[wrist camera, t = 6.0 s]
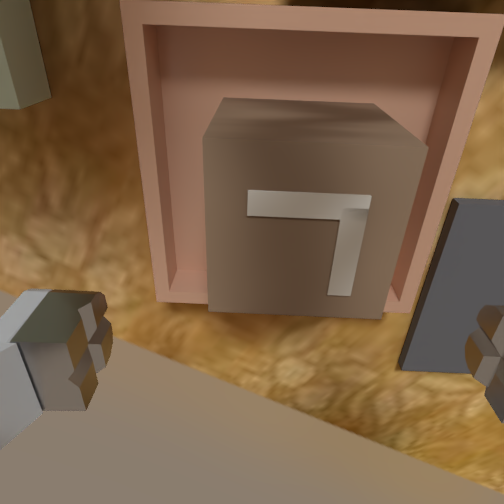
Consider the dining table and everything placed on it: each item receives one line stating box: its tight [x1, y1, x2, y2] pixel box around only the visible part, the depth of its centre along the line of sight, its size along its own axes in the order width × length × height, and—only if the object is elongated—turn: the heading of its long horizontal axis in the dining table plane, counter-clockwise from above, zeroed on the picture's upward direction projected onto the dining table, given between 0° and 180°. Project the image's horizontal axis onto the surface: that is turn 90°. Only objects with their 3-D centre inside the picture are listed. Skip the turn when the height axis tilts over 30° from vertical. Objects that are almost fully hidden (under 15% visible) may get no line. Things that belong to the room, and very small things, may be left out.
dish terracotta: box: [119, 0, 504, 313], centre depth 15 cm, size 11×11×2 cm
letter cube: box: [202, 97, 429, 319], centre depth 13 cm, size 6×6×6 cm
